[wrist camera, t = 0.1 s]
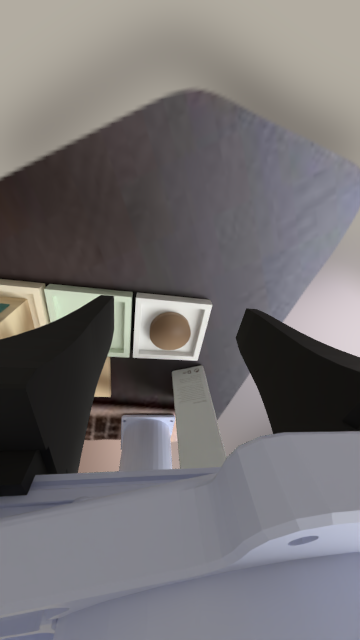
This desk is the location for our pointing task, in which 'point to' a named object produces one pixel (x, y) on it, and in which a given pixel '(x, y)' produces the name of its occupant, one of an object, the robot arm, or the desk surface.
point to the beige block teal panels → (14, 317)
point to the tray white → (158, 304)
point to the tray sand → (30, 292)
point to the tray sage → (74, 297)
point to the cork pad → (104, 381)
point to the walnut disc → (170, 331)
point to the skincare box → (196, 421)
